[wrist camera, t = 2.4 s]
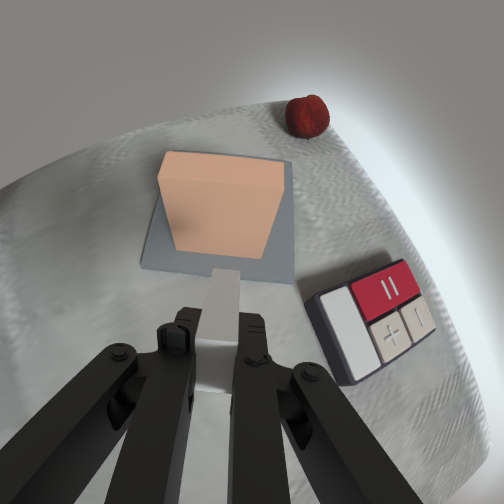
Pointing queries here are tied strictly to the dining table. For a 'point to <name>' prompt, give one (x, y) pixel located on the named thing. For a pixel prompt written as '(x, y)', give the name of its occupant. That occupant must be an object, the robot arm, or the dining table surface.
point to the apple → (307, 116)
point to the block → (220, 202)
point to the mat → (265, 269)
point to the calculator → (369, 321)
